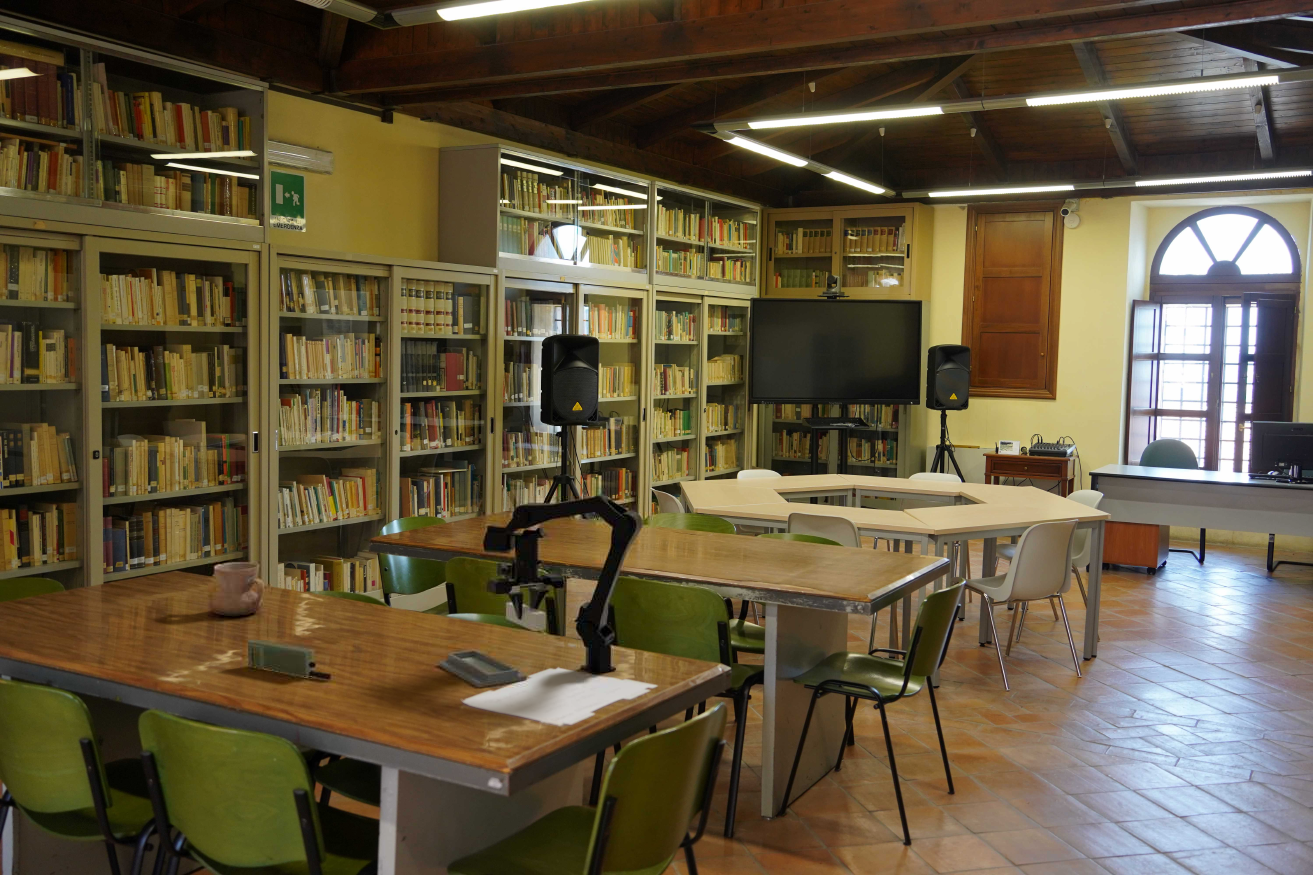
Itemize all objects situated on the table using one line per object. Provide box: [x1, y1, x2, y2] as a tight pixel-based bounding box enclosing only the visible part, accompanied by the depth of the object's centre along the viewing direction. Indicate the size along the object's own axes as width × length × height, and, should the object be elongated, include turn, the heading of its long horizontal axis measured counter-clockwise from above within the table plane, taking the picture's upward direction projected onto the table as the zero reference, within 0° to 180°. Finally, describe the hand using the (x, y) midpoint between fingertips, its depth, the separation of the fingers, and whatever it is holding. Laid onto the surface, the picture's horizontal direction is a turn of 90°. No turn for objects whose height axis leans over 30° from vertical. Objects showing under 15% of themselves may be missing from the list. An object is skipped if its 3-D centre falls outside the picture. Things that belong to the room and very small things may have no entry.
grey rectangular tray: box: [438, 649, 527, 689], centre depth 250 cm, size 22×12×3 cm, turn 35°
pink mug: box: [208, 561, 265, 617], centre depth 307 cm, size 18×14×14 cm
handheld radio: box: [247, 639, 332, 681], centre depth 246 cm, size 7×3×25 cm
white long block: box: [505, 601, 547, 632], centre depth 259 cm, size 15×3×4 cm, turn 34°
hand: (525, 618), depth 259 cm, fingers closed on white long block, 3 cm apart
